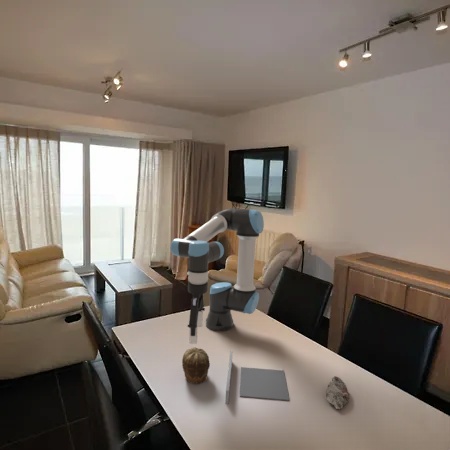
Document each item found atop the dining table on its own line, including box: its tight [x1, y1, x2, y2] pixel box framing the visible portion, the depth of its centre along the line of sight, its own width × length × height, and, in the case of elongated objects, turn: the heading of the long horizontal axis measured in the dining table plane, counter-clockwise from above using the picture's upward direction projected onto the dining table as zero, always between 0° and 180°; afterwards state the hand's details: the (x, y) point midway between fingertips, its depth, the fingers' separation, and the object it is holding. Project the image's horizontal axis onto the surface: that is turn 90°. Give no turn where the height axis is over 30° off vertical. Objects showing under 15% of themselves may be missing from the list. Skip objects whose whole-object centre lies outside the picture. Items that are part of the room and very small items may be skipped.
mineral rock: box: [325, 375, 350, 410], centre depth 115 cm, size 15×8×4 cm, turn 144°
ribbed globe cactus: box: [181, 346, 211, 384], centre depth 123 cm, size 11×11×12 cm
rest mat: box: [239, 366, 290, 401], centre depth 122 cm, size 18×18×1 cm
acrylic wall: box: [225, 351, 233, 405], centre depth 123 cm, size 26×1×5 cm, turn 176°
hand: (196, 334), depth 121 cm, fingers open, 13 cm apart
